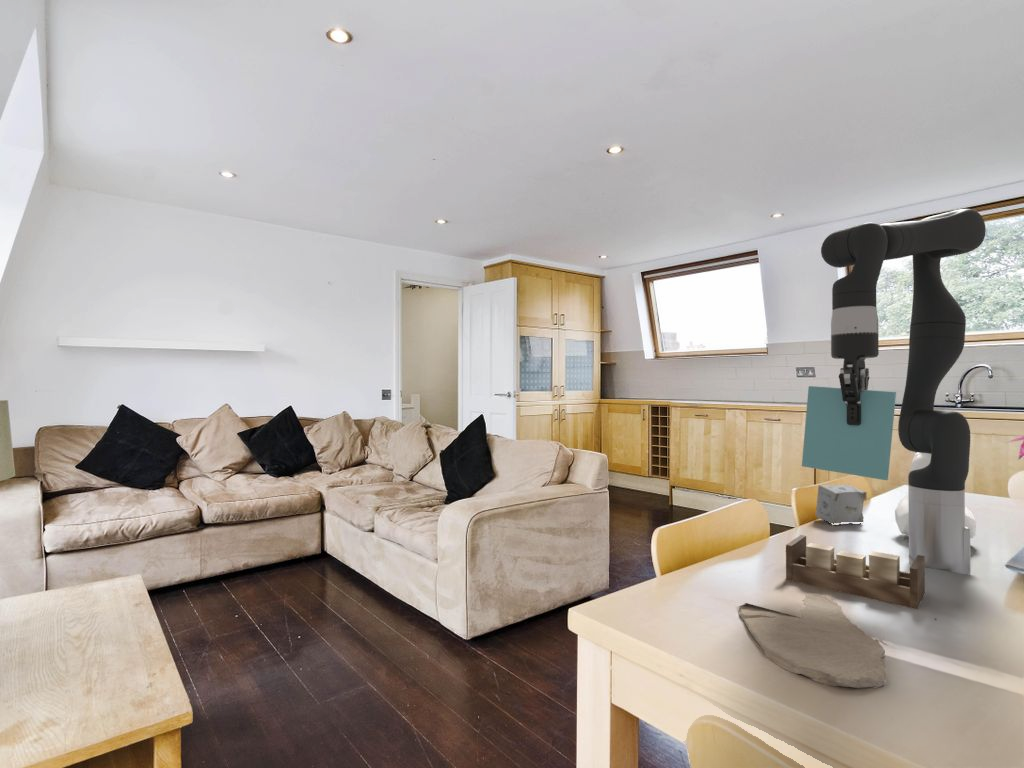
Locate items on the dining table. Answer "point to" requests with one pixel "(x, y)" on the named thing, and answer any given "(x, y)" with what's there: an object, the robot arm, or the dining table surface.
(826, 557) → the offcut
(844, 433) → the teal sheet
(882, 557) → the offcut
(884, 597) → the walnut rack
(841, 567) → the block
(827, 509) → the grey block
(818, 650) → the stone tablet
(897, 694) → the dining table surface
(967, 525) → the decorative rooster
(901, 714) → the dining table surface
